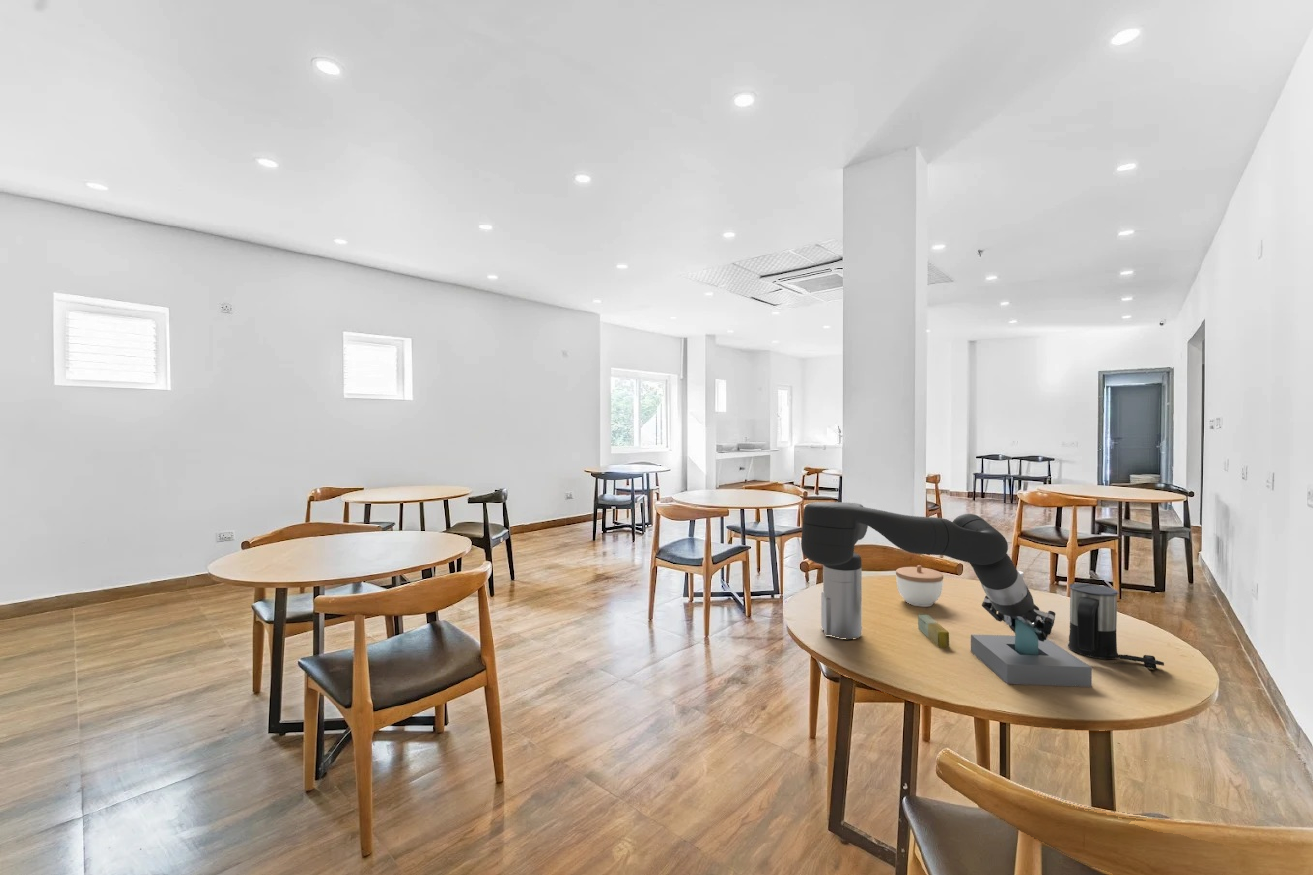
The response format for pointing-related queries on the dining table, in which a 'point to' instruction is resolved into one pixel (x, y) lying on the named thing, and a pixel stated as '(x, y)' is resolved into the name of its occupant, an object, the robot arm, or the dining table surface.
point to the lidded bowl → (919, 585)
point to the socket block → (1031, 662)
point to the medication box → (933, 630)
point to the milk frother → (1097, 623)
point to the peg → (1025, 639)
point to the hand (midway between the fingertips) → (1030, 634)
